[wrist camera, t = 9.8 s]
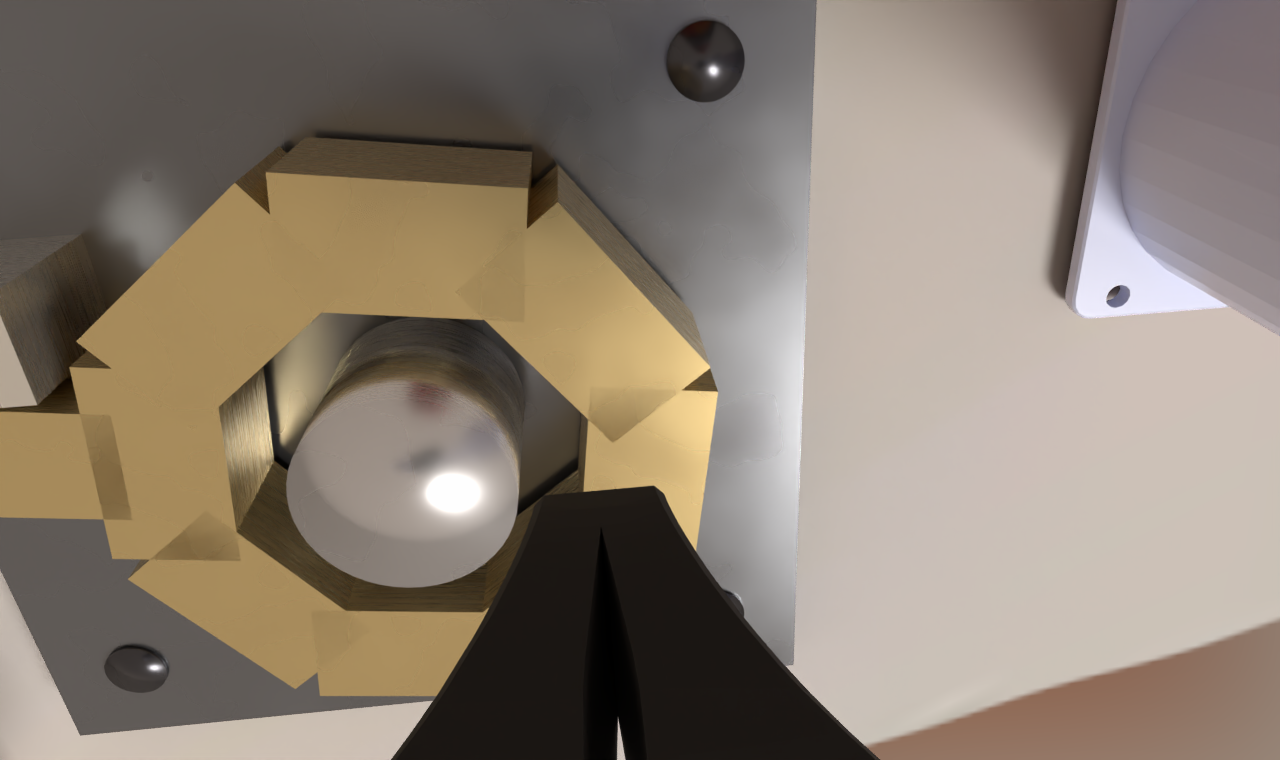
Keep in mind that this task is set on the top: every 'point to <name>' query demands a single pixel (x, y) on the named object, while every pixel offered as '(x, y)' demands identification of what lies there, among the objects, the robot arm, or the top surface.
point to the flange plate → (400, 345)
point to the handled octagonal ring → (351, 284)
